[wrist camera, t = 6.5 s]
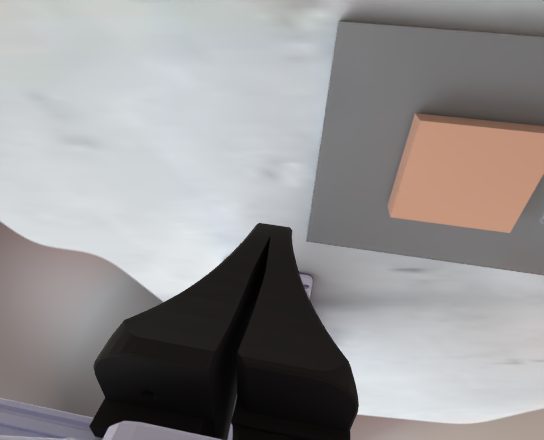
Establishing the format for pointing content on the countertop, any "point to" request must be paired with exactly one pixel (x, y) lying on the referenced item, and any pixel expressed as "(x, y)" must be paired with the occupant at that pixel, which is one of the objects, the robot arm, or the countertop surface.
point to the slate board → (395, 128)
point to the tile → (467, 172)
